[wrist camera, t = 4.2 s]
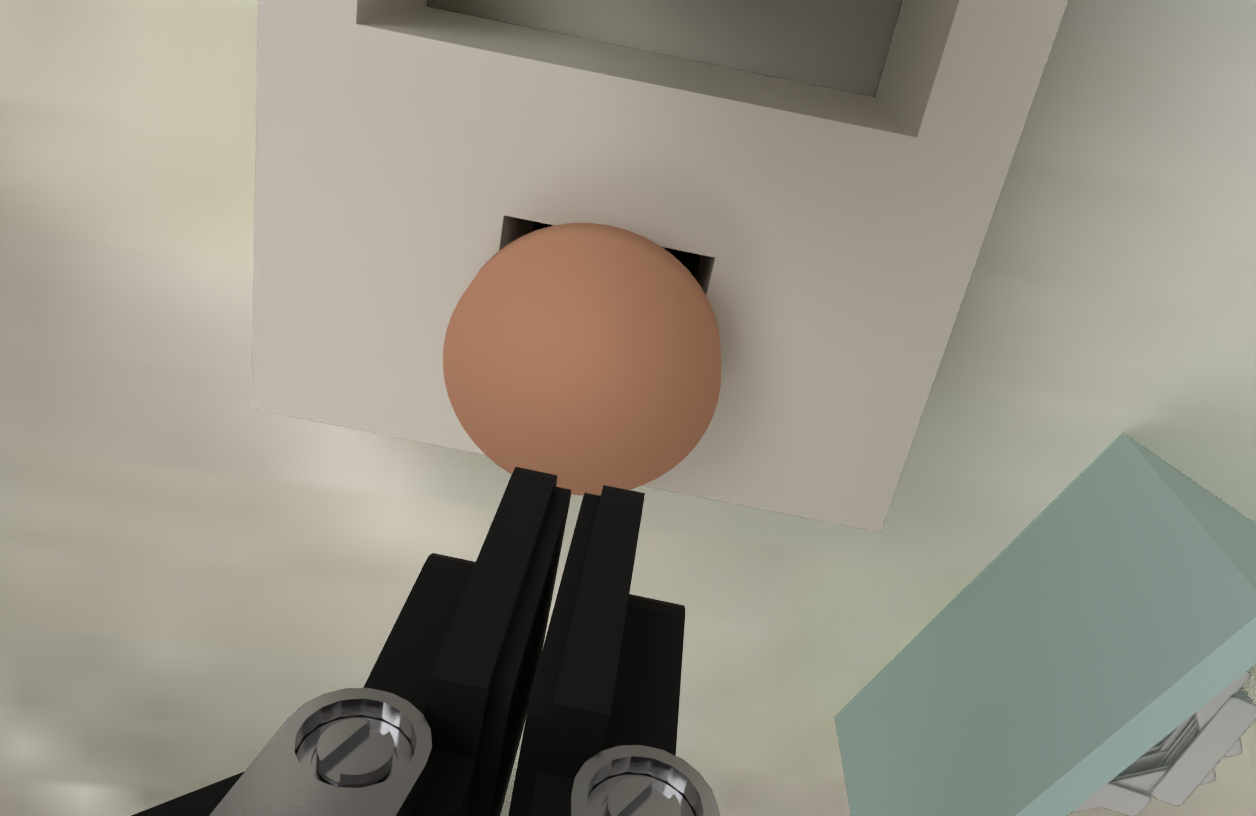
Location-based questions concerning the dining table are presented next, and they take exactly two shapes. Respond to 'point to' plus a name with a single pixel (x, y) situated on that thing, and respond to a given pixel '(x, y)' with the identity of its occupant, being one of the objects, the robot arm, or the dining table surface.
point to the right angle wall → (1073, 661)
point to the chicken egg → (584, 357)
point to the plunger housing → (635, 219)
